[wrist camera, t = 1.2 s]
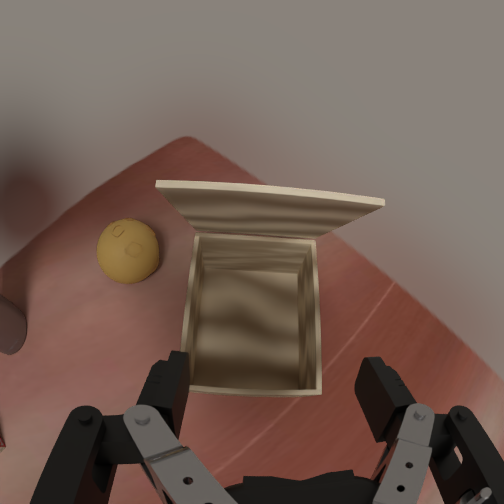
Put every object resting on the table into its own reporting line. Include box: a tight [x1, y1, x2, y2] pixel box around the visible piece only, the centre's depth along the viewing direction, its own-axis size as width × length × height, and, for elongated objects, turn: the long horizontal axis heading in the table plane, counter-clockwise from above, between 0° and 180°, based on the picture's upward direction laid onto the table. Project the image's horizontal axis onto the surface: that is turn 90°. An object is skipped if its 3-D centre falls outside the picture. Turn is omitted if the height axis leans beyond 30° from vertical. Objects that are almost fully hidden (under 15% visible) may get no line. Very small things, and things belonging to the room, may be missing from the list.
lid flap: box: [156, 180, 385, 238], centre depth 29 cm, size 20×16×1 cm
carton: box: [180, 232, 322, 397], centre depth 39 cm, size 20×16×10 cm
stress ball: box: [97, 218, 160, 284], centre depth 42 cm, size 10×10×10 cm
